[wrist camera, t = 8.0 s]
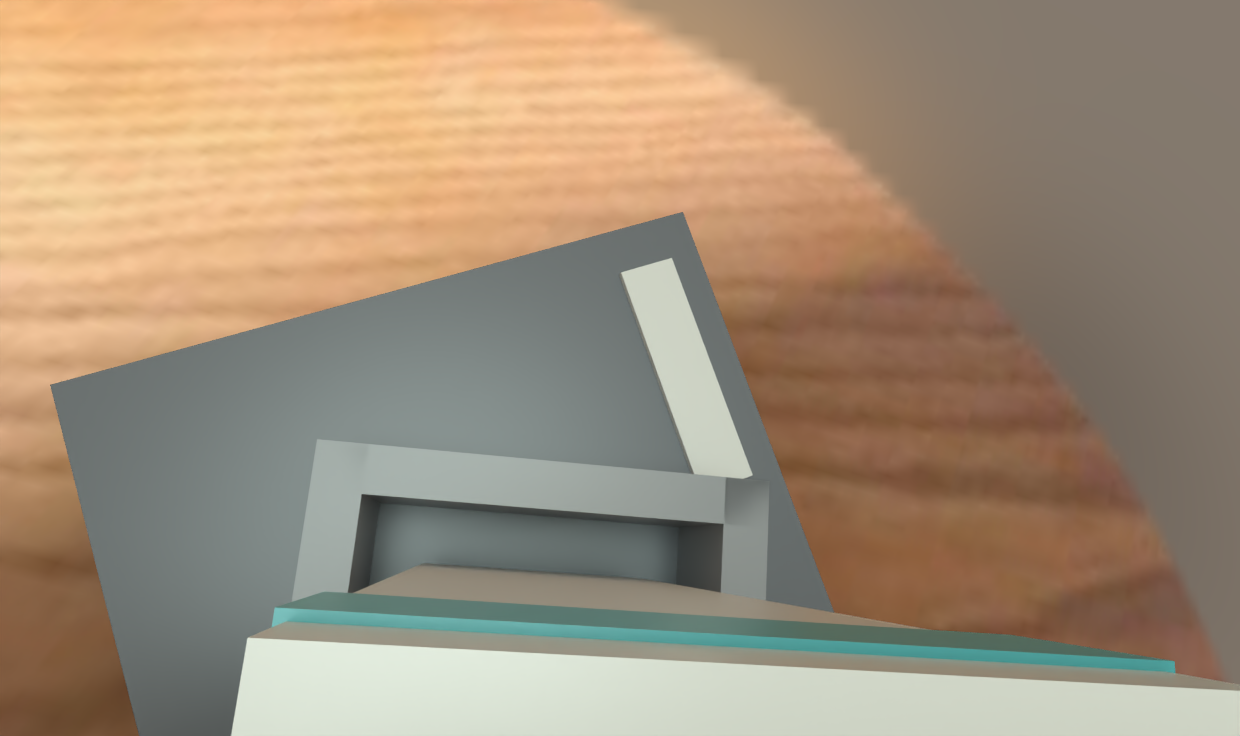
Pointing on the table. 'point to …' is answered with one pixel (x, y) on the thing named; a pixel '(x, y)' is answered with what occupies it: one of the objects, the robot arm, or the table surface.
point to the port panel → (383, 386)
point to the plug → (678, 668)
